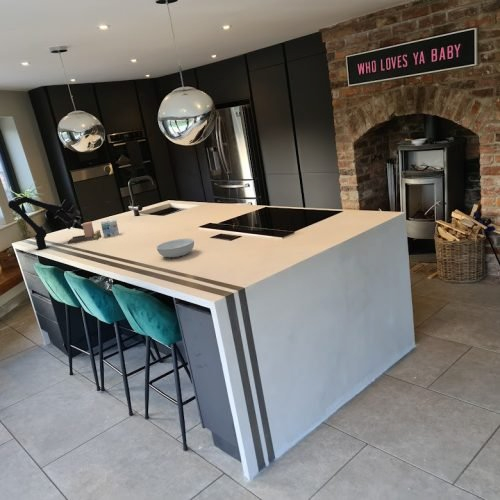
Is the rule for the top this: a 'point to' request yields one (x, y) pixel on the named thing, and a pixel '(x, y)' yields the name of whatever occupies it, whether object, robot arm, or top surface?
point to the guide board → (85, 238)
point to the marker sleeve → (88, 229)
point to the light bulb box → (110, 228)
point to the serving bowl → (175, 247)
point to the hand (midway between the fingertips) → (84, 229)
